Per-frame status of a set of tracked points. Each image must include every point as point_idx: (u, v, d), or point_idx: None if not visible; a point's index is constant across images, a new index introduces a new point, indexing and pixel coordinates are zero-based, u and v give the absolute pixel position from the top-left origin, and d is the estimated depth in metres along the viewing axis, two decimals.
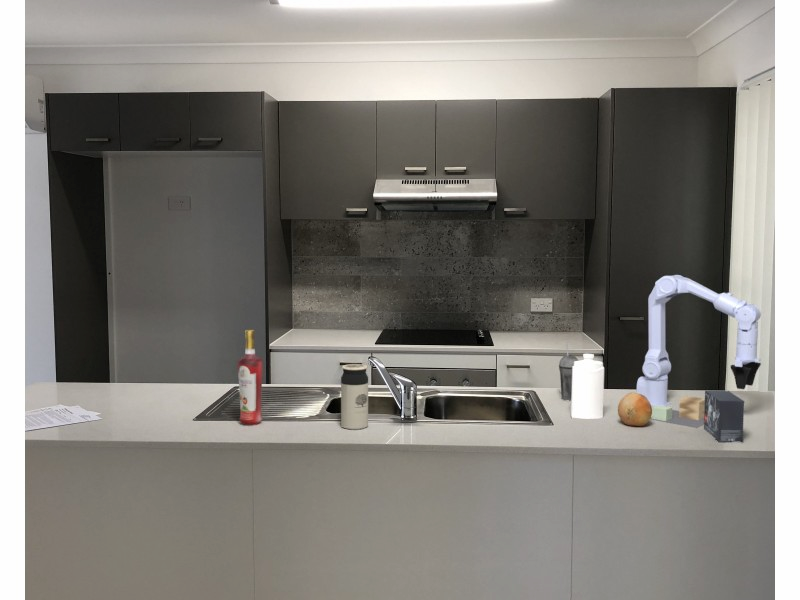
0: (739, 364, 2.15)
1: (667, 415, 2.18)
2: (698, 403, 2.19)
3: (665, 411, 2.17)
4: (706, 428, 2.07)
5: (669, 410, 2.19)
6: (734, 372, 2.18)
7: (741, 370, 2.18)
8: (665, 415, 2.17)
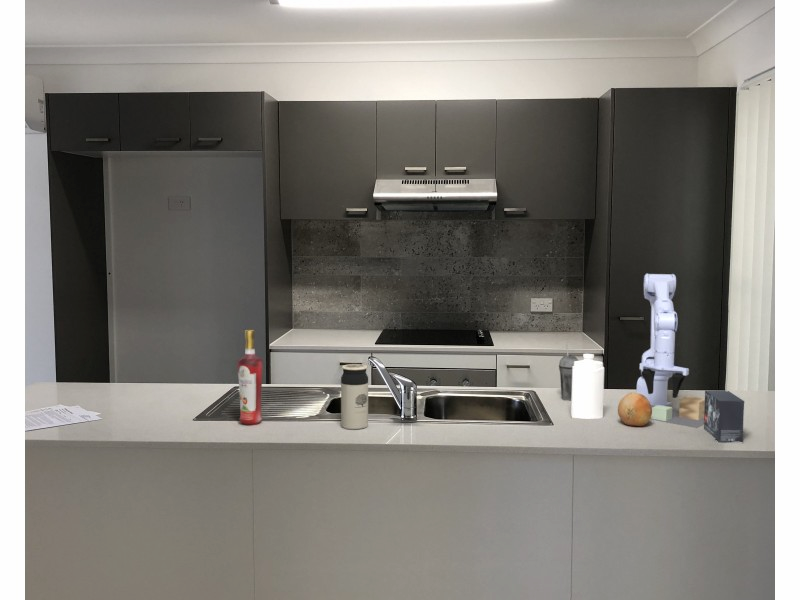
0: None
1: (667, 415, 2.18)
2: (698, 403, 2.19)
3: (665, 411, 2.17)
4: (706, 428, 2.07)
5: (669, 410, 2.19)
6: None
7: None
8: (665, 415, 2.17)
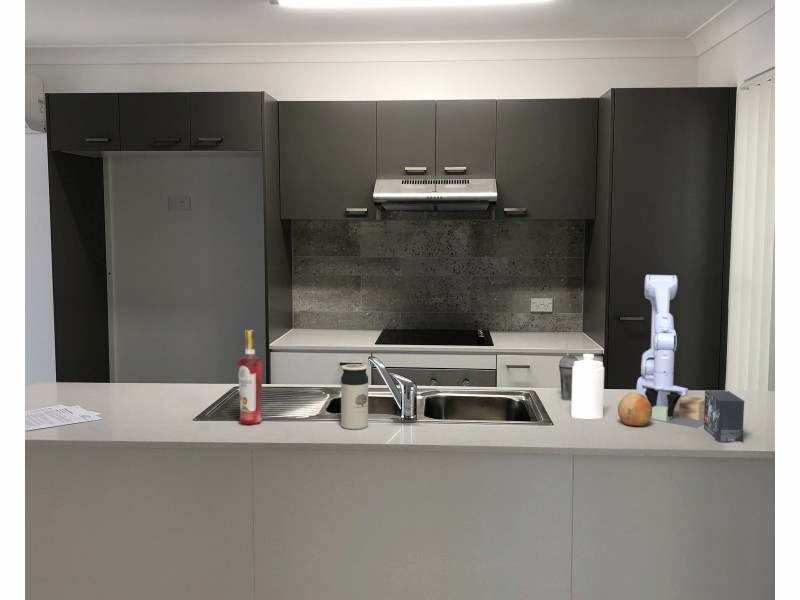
0: None
1: (667, 415, 2.18)
2: (698, 403, 2.19)
3: (665, 411, 2.17)
4: (706, 428, 2.07)
5: None
6: None
7: None
8: (665, 415, 2.17)
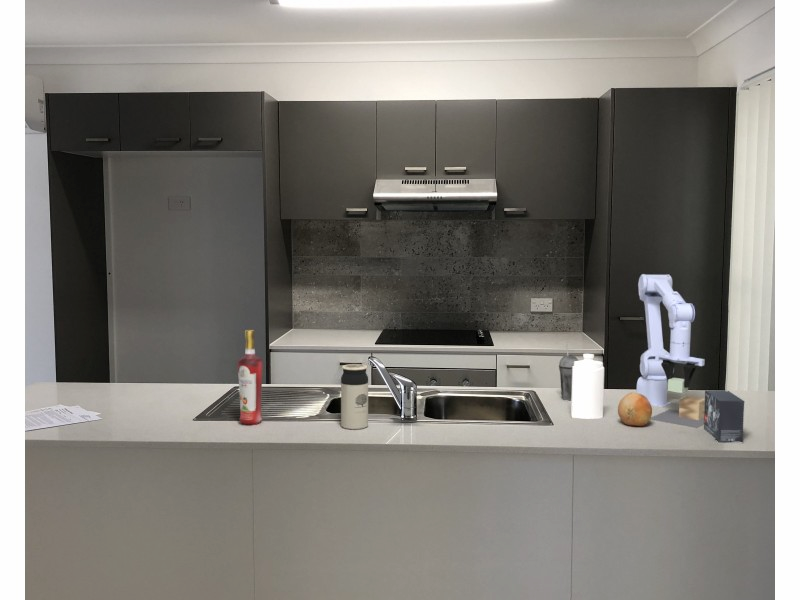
0: None
1: (683, 387, 2.18)
2: (698, 403, 2.19)
3: (681, 383, 2.18)
4: (706, 428, 2.07)
5: None
6: None
7: None
8: (681, 387, 2.18)
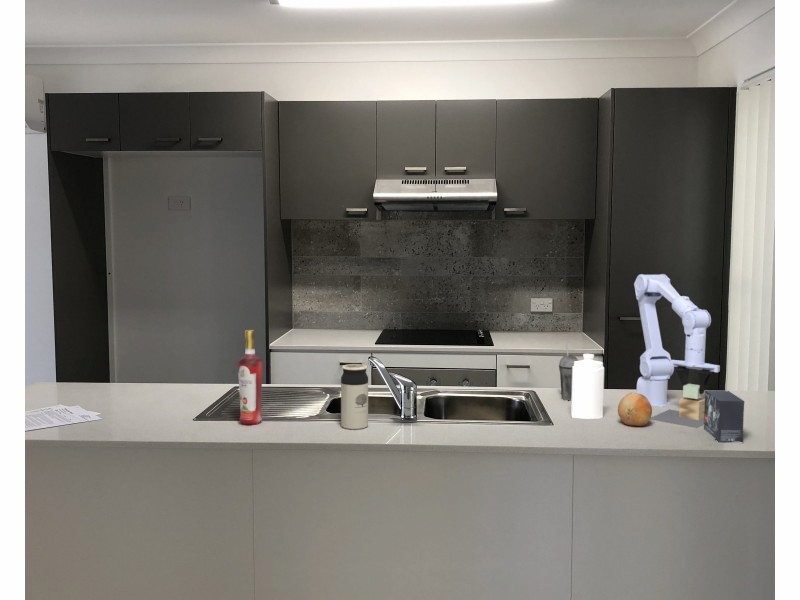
0: None
1: (698, 393, 2.20)
2: (698, 403, 2.19)
3: (697, 389, 2.19)
4: (706, 428, 2.07)
5: None
6: None
7: None
8: (697, 393, 2.19)
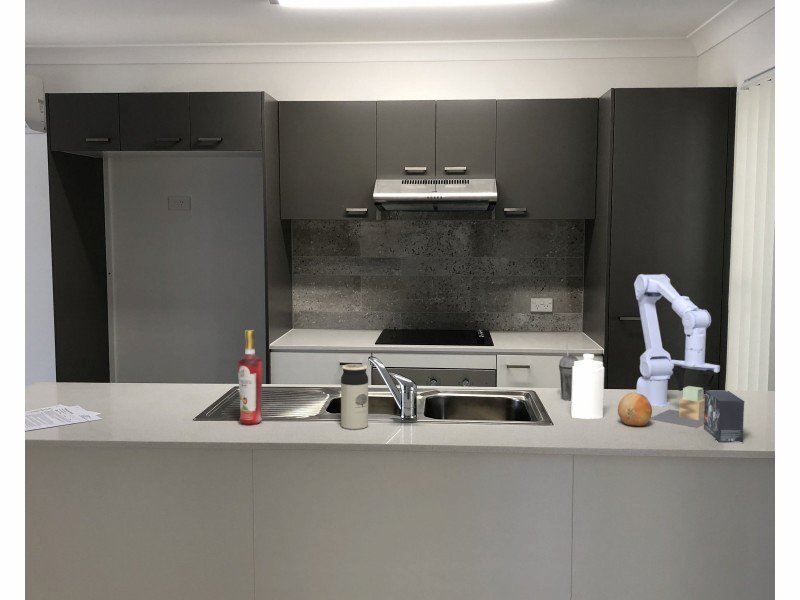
0: None
1: (698, 395, 2.20)
2: (698, 403, 2.19)
3: (696, 391, 2.19)
4: (706, 428, 2.07)
5: (700, 390, 2.21)
6: None
7: None
8: (696, 395, 2.19)
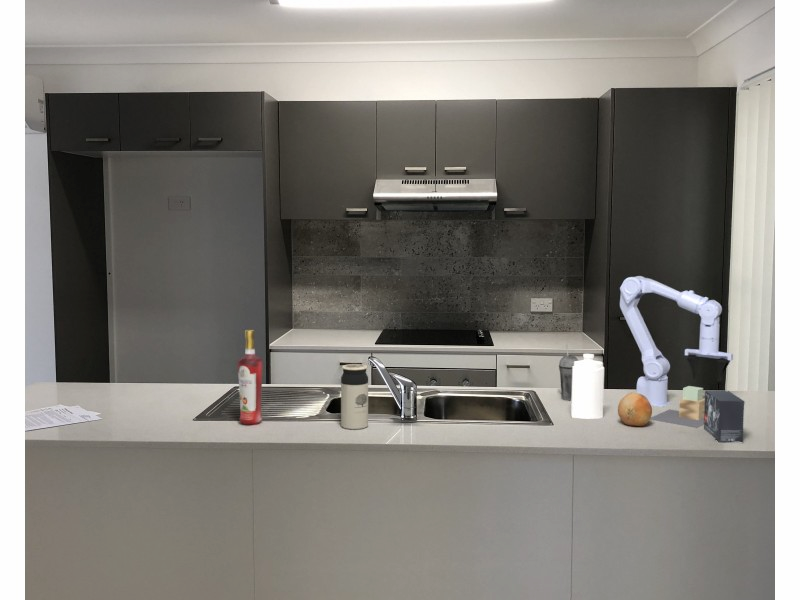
0: None
1: (698, 395, 2.20)
2: (698, 403, 2.19)
3: (696, 391, 2.19)
4: (706, 428, 2.07)
5: (700, 390, 2.21)
6: None
7: None
8: (696, 395, 2.19)
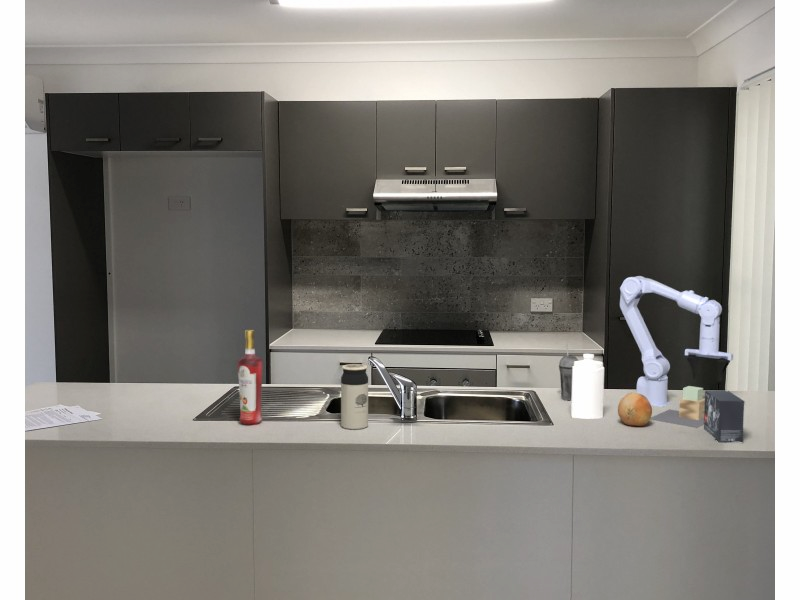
0: None
1: (698, 395, 2.20)
2: (698, 403, 2.19)
3: (696, 391, 2.19)
4: (706, 428, 2.07)
5: (700, 390, 2.21)
6: None
7: None
8: (696, 395, 2.19)
